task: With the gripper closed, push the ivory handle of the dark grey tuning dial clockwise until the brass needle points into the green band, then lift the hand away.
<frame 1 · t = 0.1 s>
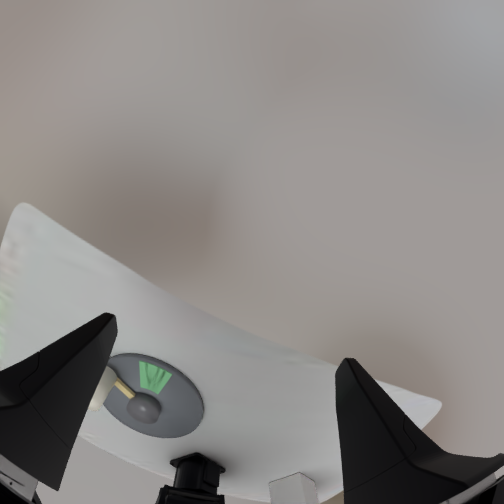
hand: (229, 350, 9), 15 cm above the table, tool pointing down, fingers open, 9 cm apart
tuner dial: (148, 398, 28), on the table
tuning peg: (121, 406, 24), point 4 cm above the table, hinge at 0.0°
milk: (292, 481, 34), on the table
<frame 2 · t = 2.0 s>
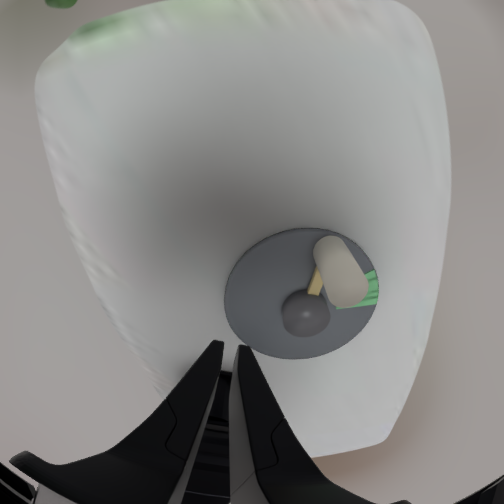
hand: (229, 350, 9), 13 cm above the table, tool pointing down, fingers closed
tuner dial: (302, 300, 24), on the table
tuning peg: (320, 305, 19), point 4 cm above the table, hinge at 0.0°
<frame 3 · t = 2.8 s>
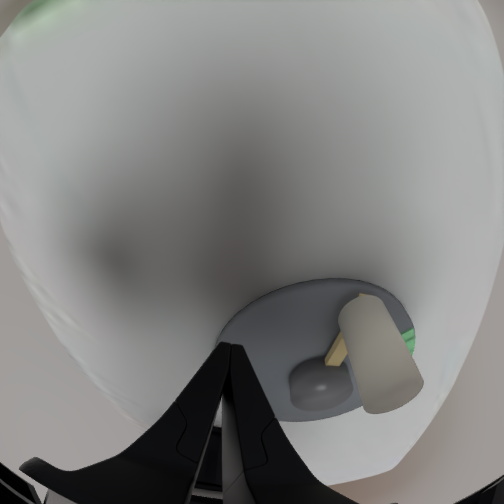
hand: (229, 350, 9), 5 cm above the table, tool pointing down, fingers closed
tuner dial: (316, 363, 17), on the table
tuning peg: (344, 389, 12), point 4 cm above the table, hinge at 0.0°
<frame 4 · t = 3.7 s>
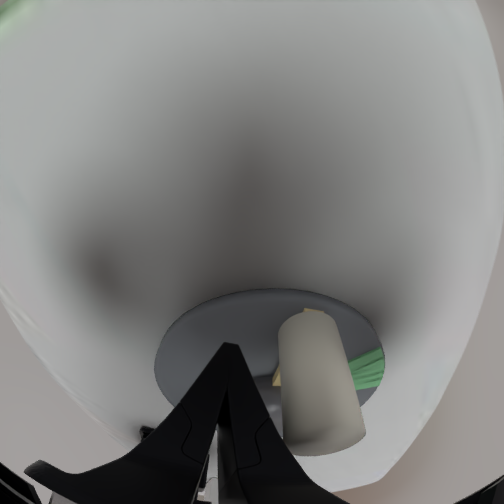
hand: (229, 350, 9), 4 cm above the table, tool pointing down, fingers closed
tuner dial: (270, 380, 15), on the table
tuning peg: (287, 416, 11), point 4 cm above the table, hinge at -0.1°, touching gripper
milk: (228, 482, 29), on the table
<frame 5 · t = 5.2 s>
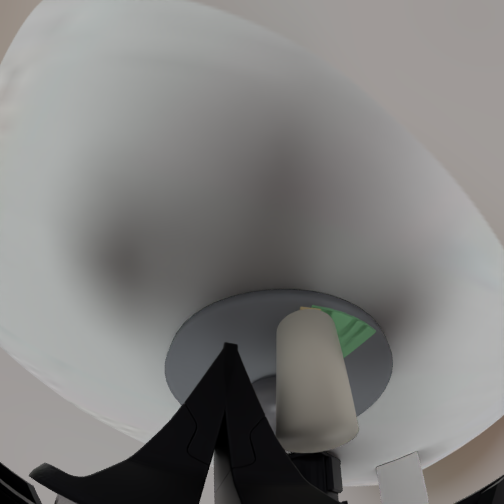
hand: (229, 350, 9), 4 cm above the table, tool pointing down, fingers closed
tuner dial: (279, 381, 16), on the table
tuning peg: (290, 414, 11), point 4 cm above the table, hinge at -42.8°, touching gripper
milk: (398, 462, 25), on the table
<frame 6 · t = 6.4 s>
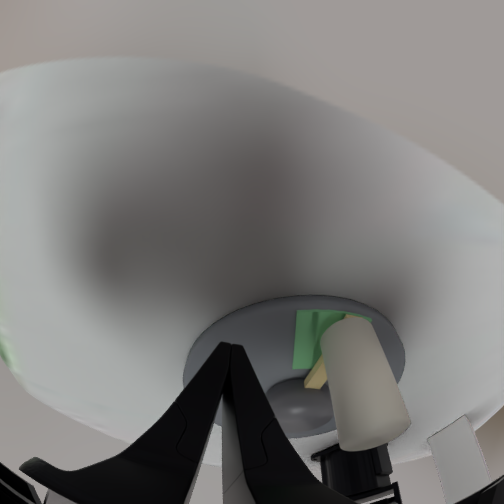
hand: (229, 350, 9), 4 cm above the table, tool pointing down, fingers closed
tuner dial: (296, 382, 16), on the table
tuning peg: (323, 416, 11), point 4 cm above the table, hinge at -66.1°
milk: (449, 428, 23), on the table
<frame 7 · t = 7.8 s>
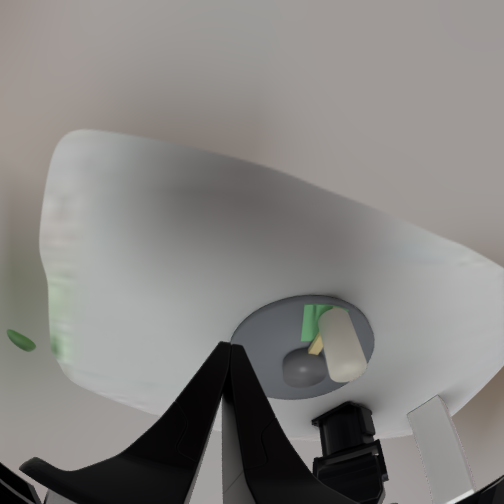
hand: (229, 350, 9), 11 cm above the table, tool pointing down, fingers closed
tuner dial: (302, 353, 25), on the table
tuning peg: (320, 369, 20), point 4 cm above the table, hinge at -66.3°
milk: (426, 407, 32), on the table
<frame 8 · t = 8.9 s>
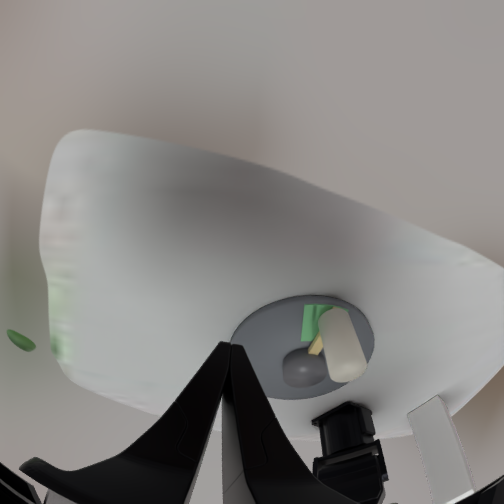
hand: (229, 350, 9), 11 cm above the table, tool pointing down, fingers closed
tuner dial: (302, 353, 25), on the table
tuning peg: (320, 369, 20), point 4 cm above the table, hinge at -66.3°
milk: (426, 407, 32), on the table
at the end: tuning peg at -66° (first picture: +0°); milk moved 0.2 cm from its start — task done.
